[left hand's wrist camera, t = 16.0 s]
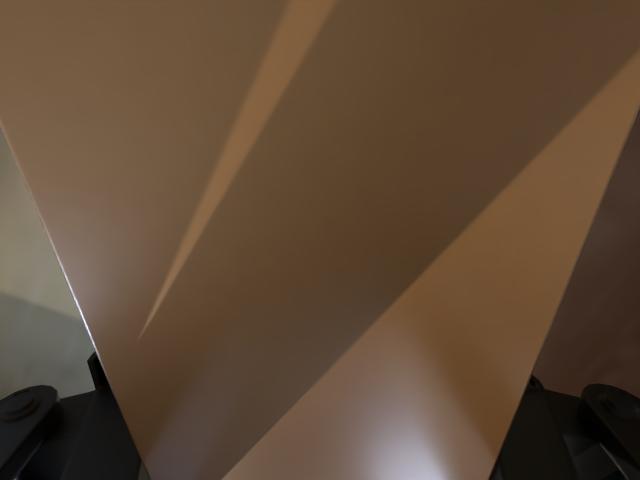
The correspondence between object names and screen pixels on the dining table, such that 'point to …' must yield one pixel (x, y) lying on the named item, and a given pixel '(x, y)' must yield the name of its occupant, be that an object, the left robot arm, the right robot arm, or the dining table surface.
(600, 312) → the dining table surface
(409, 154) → the bar
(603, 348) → the dining table surface
